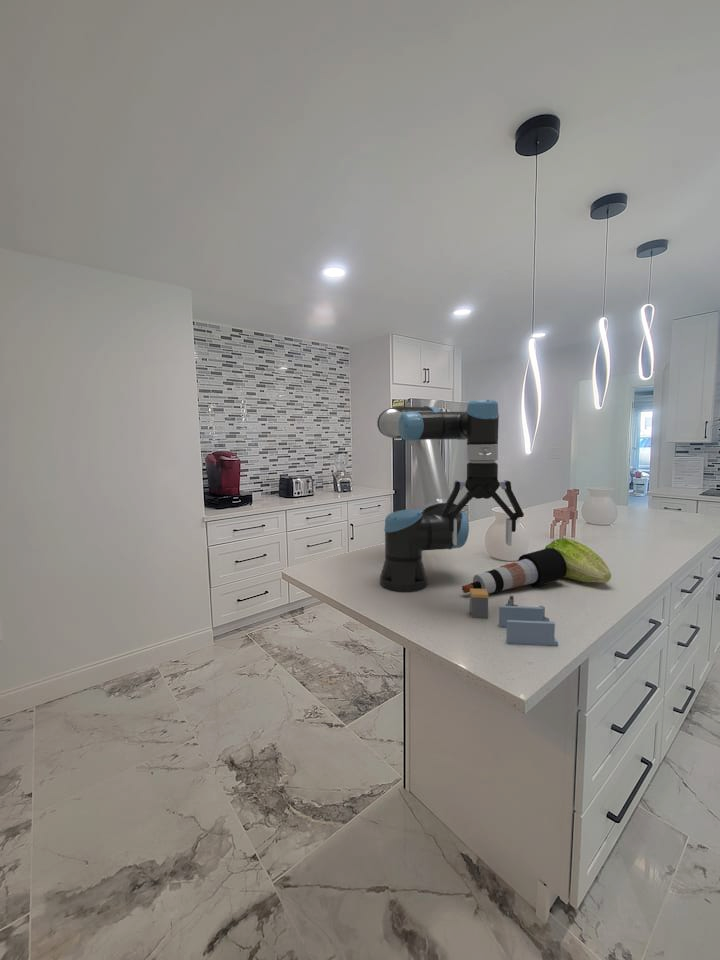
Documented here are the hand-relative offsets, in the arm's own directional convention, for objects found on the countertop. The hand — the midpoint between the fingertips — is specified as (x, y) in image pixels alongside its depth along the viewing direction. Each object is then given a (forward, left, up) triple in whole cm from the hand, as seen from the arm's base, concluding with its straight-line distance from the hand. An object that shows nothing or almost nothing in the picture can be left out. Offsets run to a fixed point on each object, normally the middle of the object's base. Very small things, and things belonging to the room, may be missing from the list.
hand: (481, 544), depth 104 cm
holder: (+8, -11, -19) cm, 23 cm away
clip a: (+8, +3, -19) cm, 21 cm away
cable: (+12, +20, -19) cm, 30 cm away
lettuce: (+35, +30, -19) cm, 50 cm away
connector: (-1, -1, -19) cm, 19 cm away
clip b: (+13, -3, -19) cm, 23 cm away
